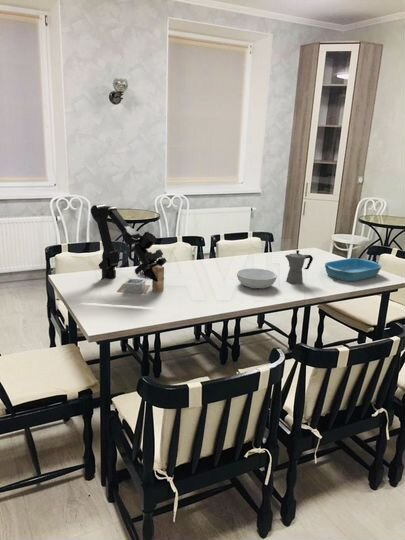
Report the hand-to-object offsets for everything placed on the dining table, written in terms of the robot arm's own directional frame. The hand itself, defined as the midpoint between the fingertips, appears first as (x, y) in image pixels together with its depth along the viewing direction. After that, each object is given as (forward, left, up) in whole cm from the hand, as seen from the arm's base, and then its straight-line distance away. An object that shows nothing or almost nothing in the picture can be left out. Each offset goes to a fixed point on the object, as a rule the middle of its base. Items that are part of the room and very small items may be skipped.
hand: (160, 280), depth 215 cm
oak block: (-1, +1, -7) cm, 7 cm away
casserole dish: (+106, +54, -7) cm, 119 cm away
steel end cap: (-12, -1, -6) cm, 13 cm away
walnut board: (-13, +1, -7) cm, 15 cm away
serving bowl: (+48, +22, -7) cm, 53 cm away
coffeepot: (+71, +34, -7) cm, 79 cm away
